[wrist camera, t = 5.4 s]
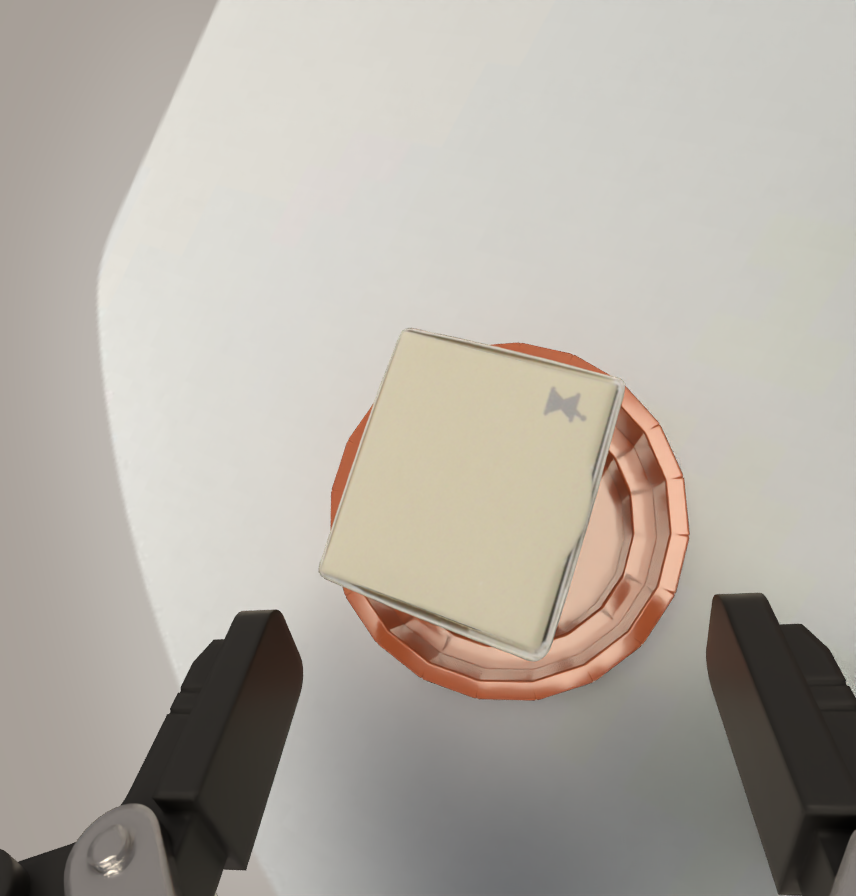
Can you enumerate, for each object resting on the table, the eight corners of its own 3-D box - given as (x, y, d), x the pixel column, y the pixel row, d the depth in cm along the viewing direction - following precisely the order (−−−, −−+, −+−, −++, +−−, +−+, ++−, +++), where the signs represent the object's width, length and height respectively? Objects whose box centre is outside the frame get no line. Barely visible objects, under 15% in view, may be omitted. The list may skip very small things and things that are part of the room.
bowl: (336, 618, 22) (284, 629, 18) (417, 360, 23) (388, 312, 19) (616, 717, 20) (636, 758, 15) (689, 425, 21) (726, 387, 17)
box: (472, 434, 22) (404, 304, 11) (591, 469, 21) (639, 363, 10) (425, 575, 21) (306, 578, 11) (546, 618, 20) (547, 670, 10)
